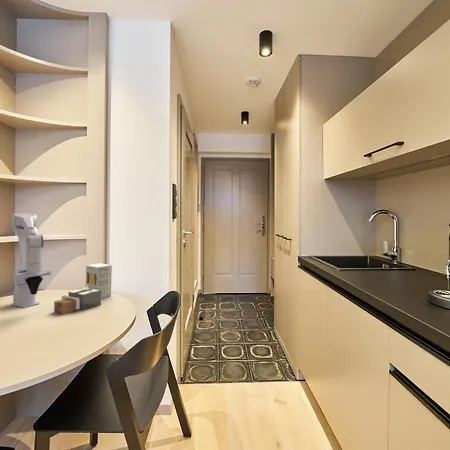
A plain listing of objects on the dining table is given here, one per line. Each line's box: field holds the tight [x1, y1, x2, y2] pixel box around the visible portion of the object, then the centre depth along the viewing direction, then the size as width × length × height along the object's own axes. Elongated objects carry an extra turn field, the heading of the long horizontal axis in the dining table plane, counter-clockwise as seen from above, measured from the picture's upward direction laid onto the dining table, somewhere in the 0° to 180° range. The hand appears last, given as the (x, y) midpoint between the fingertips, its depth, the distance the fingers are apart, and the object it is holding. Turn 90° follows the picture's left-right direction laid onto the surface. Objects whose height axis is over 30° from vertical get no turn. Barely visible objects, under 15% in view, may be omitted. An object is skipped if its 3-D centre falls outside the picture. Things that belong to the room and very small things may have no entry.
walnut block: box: [53, 298, 74, 315], centre depth 140 cm, size 6×5×5 cm
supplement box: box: [85, 262, 113, 299], centre depth 167 cm, size 10×9×17 cm
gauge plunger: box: [61, 283, 88, 310], centre depth 147 cm, size 11×10×9 cm
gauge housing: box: [67, 287, 102, 311], centre depth 150 cm, size 10×10×7 cm
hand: (33, 294), depth 137 cm, fingers closed
